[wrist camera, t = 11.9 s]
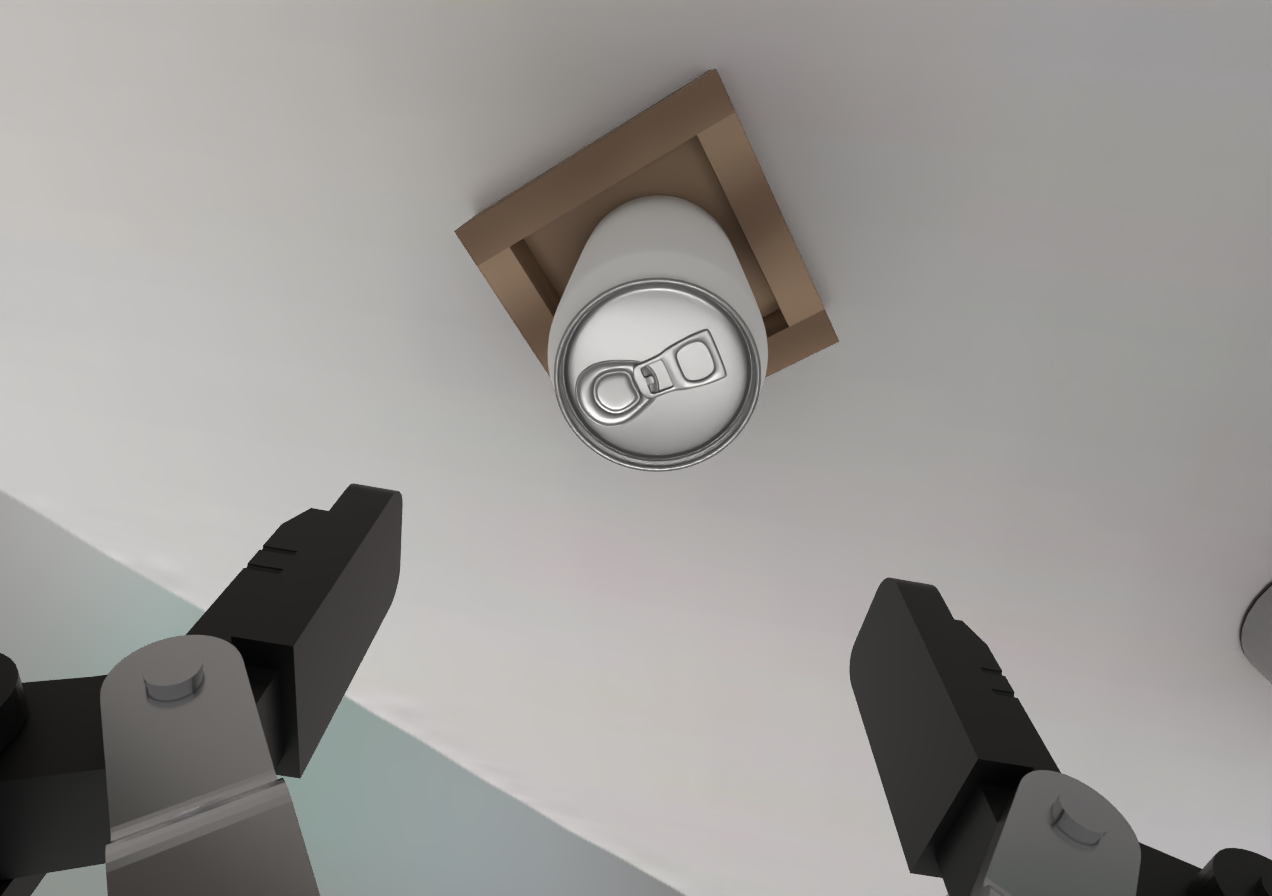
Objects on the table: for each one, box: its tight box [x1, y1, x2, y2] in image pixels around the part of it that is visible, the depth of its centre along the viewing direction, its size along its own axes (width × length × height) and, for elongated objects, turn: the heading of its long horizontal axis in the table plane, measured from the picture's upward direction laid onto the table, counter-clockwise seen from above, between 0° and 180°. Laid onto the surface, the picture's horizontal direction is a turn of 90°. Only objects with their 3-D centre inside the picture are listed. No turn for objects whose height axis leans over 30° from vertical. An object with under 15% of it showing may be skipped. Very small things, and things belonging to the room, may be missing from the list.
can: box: [548, 195, 768, 471], centre depth 24 cm, size 6×6×12 cm
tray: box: [454, 69, 839, 377], centre depth 29 cm, size 11×11×4 cm
